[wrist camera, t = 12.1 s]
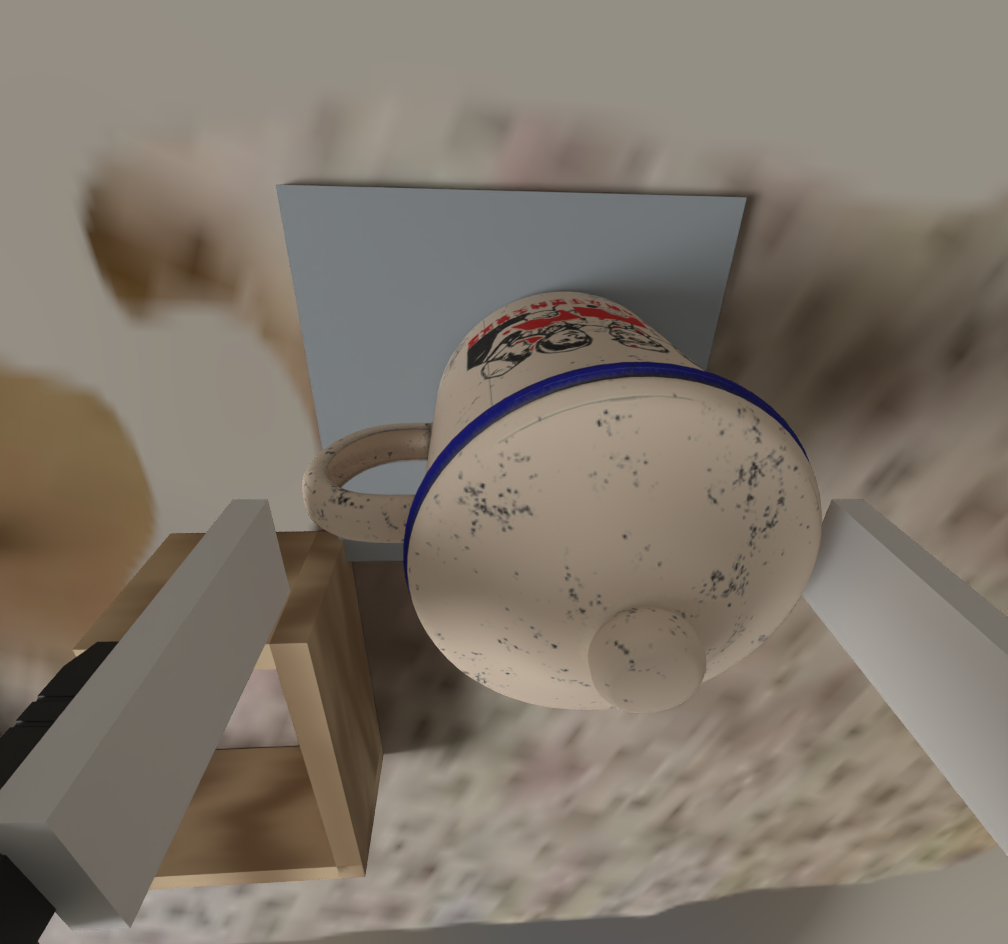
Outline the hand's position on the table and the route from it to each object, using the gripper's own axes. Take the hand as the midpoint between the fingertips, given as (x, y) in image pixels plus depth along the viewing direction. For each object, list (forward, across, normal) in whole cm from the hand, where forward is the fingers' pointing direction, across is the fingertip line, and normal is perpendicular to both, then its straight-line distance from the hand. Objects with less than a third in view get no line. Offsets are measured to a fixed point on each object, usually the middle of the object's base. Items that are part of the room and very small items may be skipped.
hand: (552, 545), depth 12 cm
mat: (+8, +1, 0) cm, 8 cm away
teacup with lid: (+8, 0, 0) cm, 8 cm away
